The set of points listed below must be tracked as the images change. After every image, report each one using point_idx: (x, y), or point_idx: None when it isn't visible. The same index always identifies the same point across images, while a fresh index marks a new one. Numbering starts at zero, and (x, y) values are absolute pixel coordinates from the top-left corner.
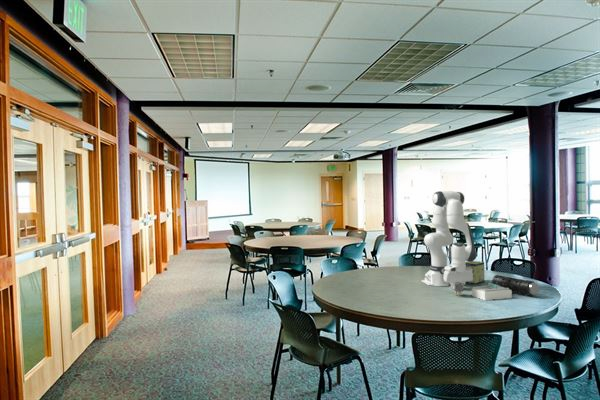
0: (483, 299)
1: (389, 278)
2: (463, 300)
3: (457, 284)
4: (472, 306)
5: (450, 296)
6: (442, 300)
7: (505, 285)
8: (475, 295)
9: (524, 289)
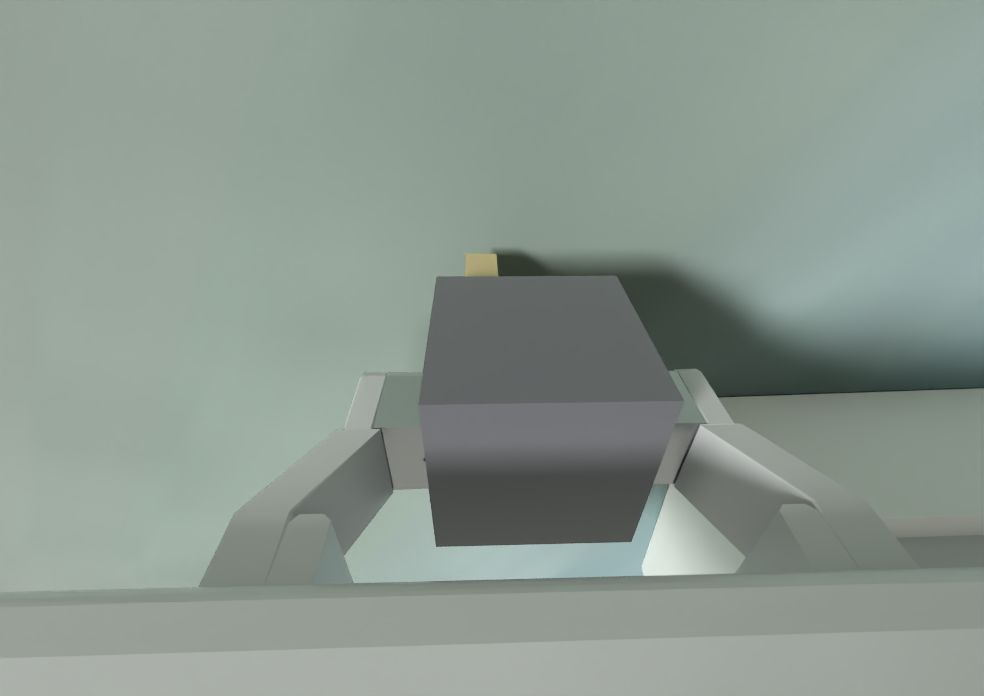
0: (647, 558)
1: None
2: (390, 532)
3: (530, 457)
4: None
5: (289, 342)
6: (78, 490)
7: None
8: None
9: None
